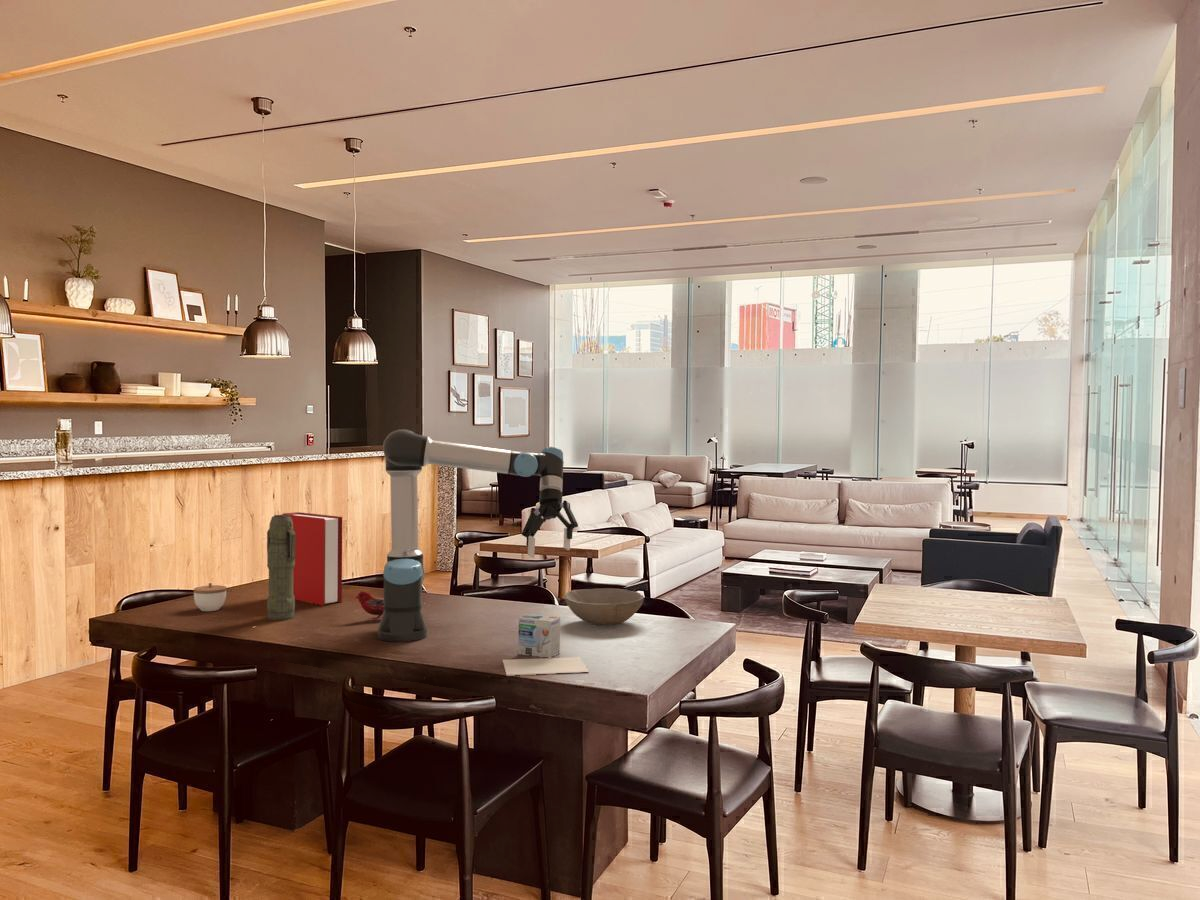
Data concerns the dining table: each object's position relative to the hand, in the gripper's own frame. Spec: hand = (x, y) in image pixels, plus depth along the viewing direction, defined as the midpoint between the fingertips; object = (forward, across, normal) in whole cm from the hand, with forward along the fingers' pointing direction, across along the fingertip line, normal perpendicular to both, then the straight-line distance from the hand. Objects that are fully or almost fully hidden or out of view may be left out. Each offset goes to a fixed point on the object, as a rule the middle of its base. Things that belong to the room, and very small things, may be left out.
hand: (548, 552), depth 281 cm
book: (-1, +109, -3) cm, 109 cm away
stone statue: (+14, +94, +21) cm, 98 cm away
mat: (+42, -13, +19) cm, 48 cm away
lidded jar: (+8, +125, +27) cm, 128 cm away
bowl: (+16, -3, -32) cm, 35 cm away
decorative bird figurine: (+15, +64, +5) cm, 66 cm away
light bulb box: (+35, -4, +9) cm, 37 cm away
